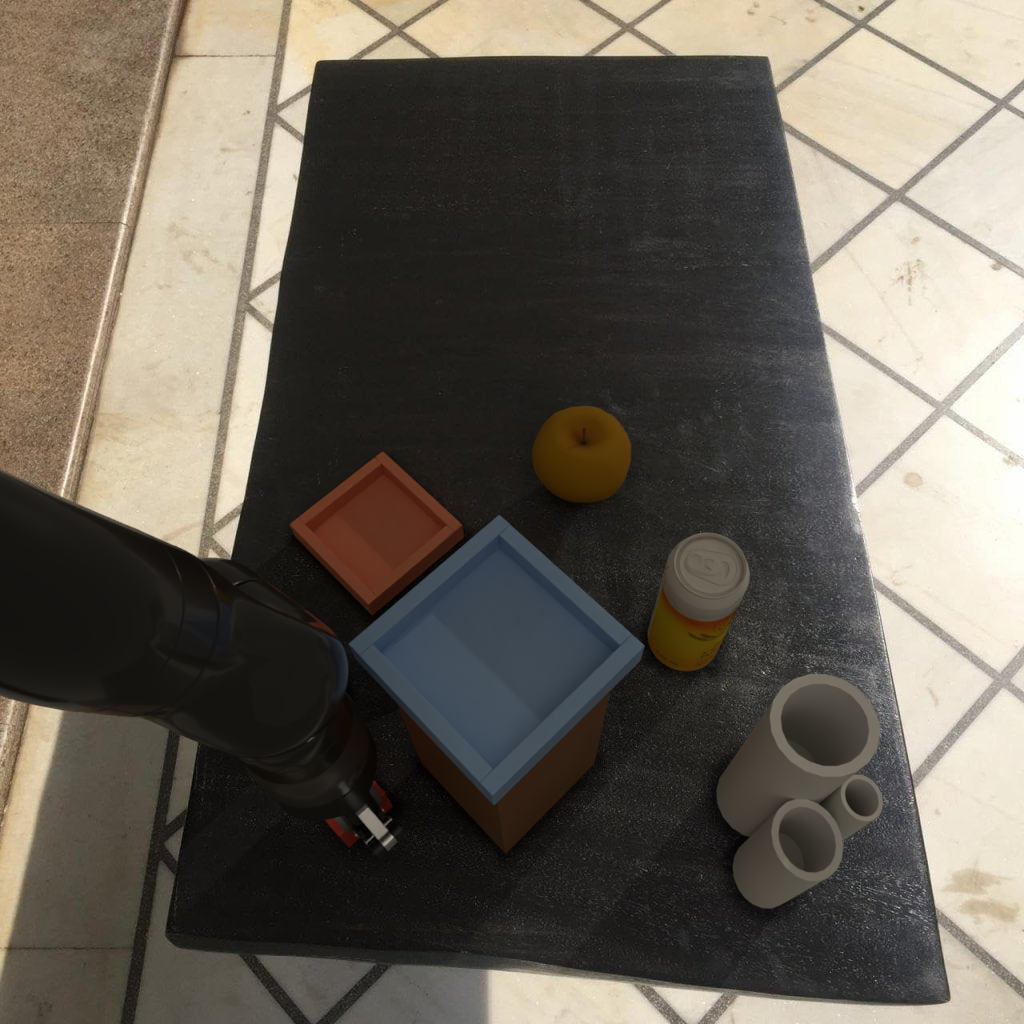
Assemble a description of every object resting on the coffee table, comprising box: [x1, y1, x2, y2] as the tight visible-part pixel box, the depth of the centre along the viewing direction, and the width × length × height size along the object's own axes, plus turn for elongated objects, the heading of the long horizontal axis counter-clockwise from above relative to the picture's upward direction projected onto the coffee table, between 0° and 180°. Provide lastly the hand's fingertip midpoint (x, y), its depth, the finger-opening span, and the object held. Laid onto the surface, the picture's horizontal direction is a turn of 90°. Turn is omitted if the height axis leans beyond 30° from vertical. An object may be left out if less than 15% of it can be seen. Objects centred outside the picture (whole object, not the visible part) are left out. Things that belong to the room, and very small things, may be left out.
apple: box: [531, 405, 632, 504], centre depth 87 cm, size 9×9×9 cm
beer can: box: [647, 532, 751, 672], centre depth 77 cm, size 6×6×15 cm
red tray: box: [289, 451, 465, 616], centre depth 87 cm, size 11×11×2 cm
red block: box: [324, 780, 394, 848], centre depth 75 cm, size 4×4×4 cm
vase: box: [715, 673, 884, 909], centre depth 67 cm, size 11×7×20 cm, turn 8°
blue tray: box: [348, 514, 645, 854], centre depth 67 cm, size 12×12×26 cm
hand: (352, 805), depth 76 cm, fingers closed on red block, 4 cm apart
